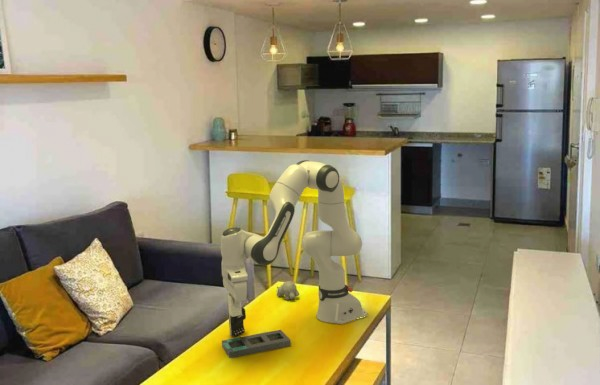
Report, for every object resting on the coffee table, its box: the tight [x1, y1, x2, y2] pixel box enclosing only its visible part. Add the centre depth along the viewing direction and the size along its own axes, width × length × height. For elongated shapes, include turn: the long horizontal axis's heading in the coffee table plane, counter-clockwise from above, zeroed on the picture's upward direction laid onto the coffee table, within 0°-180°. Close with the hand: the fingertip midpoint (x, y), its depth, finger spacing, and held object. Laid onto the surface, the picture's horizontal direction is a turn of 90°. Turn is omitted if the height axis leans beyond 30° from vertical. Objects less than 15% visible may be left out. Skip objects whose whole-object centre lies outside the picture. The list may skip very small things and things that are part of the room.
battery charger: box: [228, 306, 247, 337], centre depth 248 cm, size 7×4×11 cm, turn 140°
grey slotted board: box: [221, 329, 292, 359], centre depth 237 cm, size 25×11×3 cm, turn 112°
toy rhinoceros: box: [276, 280, 300, 301], centre depth 287 cm, size 7×12×8 cm, turn 51°
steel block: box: [227, 292, 242, 317], centre depth 230 cm, size 4×4×8 cm
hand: (234, 304), depth 230 cm, fingers closed on steel block, 4 cm apart
